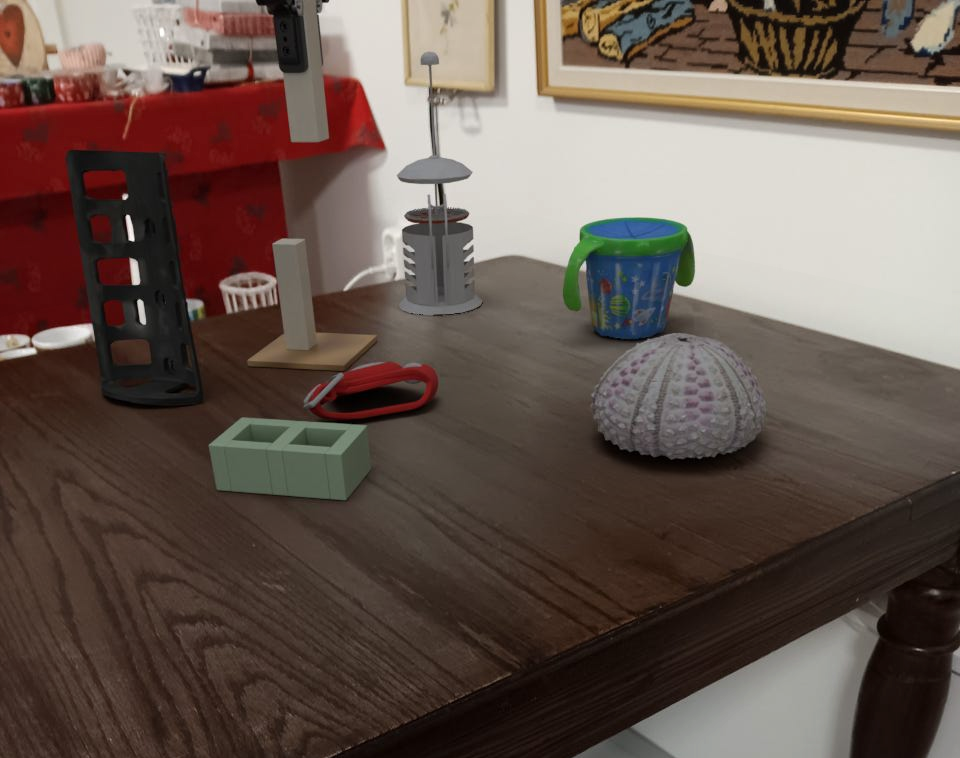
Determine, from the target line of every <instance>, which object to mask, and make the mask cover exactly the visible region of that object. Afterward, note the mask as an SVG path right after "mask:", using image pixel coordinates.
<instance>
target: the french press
mask: <svg viewBox="0 0 960 758" xmlns="http://www.w3.org/2000/svg"><path fill="white" fill-rule="evenodd" d="M420 65H421V66H428V74H429V76H428V77H429V95H430V96H429V97H430V98H429V99H430V115H431V117H430V118H431V119H430V120H431V139H432V155H430V156H428V157H426V158H420V159H417V160H415V161H413V162H411V163H409V164H407V165H405V166H404V167H403V169H401V170H400V171H399V173H397V174H396V177H397V179H398V180H399V181H400V182H402V183H405V184H416V185H434V200H435V205H433V204H432V203H431V194H426V196H427V204H428V205H427V207H421V208H417V209H416V208H414V209H412V210H409V211H407V212H406V213H405V214H404V215H403V216H404V219H405V220H406V221H408V222H410V223H413V224H409V225H406V226H405V227H403V228H402V229H401V236H402V237H401V239H402V242H403V244H404V245H405V246H409V247H410V248H411V249H412V250H413V251H410V250H408V248H406V247H402V253H403V256H405V257H406V258H407V259H410V260H411V261H412V262H413V263H412V262H409V261H408V260H406V259H403V266H404V268H405V269H406V270H408V271H411V273H413V274H410V273H409V272H408V271H404V278H405V279H406V281H408V282H410V283H412V284H413V285H409V284H408V283H407V282H405V283H404V286H405V287H404V288H405V296H404V298H403V299H402V300H401V301H400V303H399V304H398V307H399V309H400V310H401V311H403V312H406V313H409V314H411V313H413V314H412V315H419V314H421V315H420V316H433V314H454V313H460V312H465V311H468V310H471V309H474V308H476V307H478V306H479V305H480V304H481V302H482V301H483V299H481V298H480V297H479V296H478V295H477V294H476V289H475V288H476V284H475V279H473V280H472V281H471V282H470V283H469V281H470V279H472V278H473V277H474V276H475V268H472V269H471V270H470V272H467V271H468V269H469V268H471V267H472V266H473V265H474V264H475V257H474V256H472V257H471V258H470V259H469V260H467V261H466V259H468V257H469V256H471V255H472V254H473V253H474V252H475V249H474V248H475V247H474V244H471V245H470V247H468V248H467V249H464V248H465V247H466V246H467V245H468V244H470V243H471V242H472V241H473V240H474V226H472V225H471V224H468V223H465V222H462V221H464V220H466V219H468V218H469V216H470V212H469V210H467V209H466V208H460V207H454V206H453V207H452V206H450V207H449V206H447V205H448V204H447V194H446V193H443V194H442V195H443V196H442V197H443V198H442V199H443V202H442V204H440V205H438V204H439V203H438V185H439V184H441V185H442V184H451V183H457V182H462V181H464V180H468V179H469V178H470V177H471V176H472V174H473V173H474V172H473V171H472V170H471V169H470V168H468V167H467V166H466V165H465V164H464V163H462V162H460V161H457V160H455V159H452V158H447V157H443V156H442V157H441V156H440V155H437V154H436V140H435V137H436V136H435V117H434V116H435V115H434V94H433V76H432V75H433V74H432V71H433V70H432V66H435V65H440V58H439V55H438V54H437V53H436V52H434V51H425V52H424V53H422V55H421V56H420ZM465 313H466V312H465ZM422 314H423V315H422ZM454 315H455V314H454Z"/></svg>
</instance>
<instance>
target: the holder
mask: <svg viewBox="0 0 960 758" xmlns="http://www.w3.org/2000/svg"><path fill="white" fill-rule="evenodd" d="M166 156H167V152H155V151H153V152H152V151H151V152H150V151H149V152H148V151H121V150H86V149H85V150H84V149H70V150H68V151H66V153H65V163H66V165H65V166H66V170H67V176H68V183H69V188H70V196H71V203H72V209H73V214H74V221H75V227H76V234H77V240H78V246H79V252H80V258H81V264H82V271H83V275H84V276H83V277H84V282H85V288H86V294H87V300H88V306H89V313H90V318H91V325H92V331H93V336H94V337H93V338H94V343H95V350H96V355H97V361H98V366H99V373H100V384H101V393H102V395H103V396H106V397H107V398H111V399H115V400H118V401H125V402H129V403H132V404H140V405H150V406H165V407H167V406H168V407H171V406H172V407H173V406H191V405H197V404H200V403H203V402H204V399H205V395H204V388H203V382H202V377H201V371H200V366H199V361H198V355H197V351H196V346H195V339H194V334H193V330H192V325H191V319H190V314H189V302H188V300H187V292H186V290H185V285H184V278H183V272H182V259H181V258H180V254H181V250H180V245H179V238H178V231H177V225H176V215H175V214H174V212H173V208H174V203H173V202H172V199H171V192H170V184H169V178H168V177H169V173H170V171H169V169H168V168H167V164H166V159H165V158H166ZM100 171H102V172H103V171H104V172H107V171H108V172H109V171H110V172H118V171H121V172H122V173H124V175H125V183H126V189H127V197H126V198H125V199H100V198H99V199H98V198H97V199H96V198H92V197H89V196H88V195H87V190H86V189H87V188H86V183H85V178H84V174H85V173H89V172H100ZM96 216H101V217H102V216H103V217H107V218H108V220H109V225H110V233H111V240H110V241H109V242H101V241H98V240H95V239H94V235H93V228H92V220H91V219H93V218H95V217H96ZM127 216H129V219H130V223H131V225H132V232H133V238H134V240H129V238H130V237H129V233H128V226H127V220H126V218H127ZM106 259H107V260H108V259H112V260H113V259H115V260H117V259H132V260H135V261H136V263H137V267H138V268H137V269H138V275H139V283H138V284H104V283H103V282H102V281H101V280H100V273H99V267H98V266H99V265H98V262H99V261H102V260H106ZM139 300H140V301H142V303H143V310H144V315H145V324H143V323H142V322H141V317H140V311H139V303H138V301H139ZM110 301H118V302H120V303H121V307H122V313H123V319H124V322H123V323H122V324H121V325H112V324H109V323H107V316H106V310H105V305H104V304H106V303H108V302H110ZM130 340H131V341H132V340H146V342H147V343H148V345H149V354H150V361H151V362H150V363H133V364H117V363H115V362H114V358H113V353H112V348H111V344H113V343H114V342H119V341H130ZM187 346H188V348H187ZM187 349H188V350H187ZM188 352H189V356H188ZM189 357H190V362H189ZM190 363H191V365H190ZM149 380H150V381H149ZM151 380H152V381H151ZM128 381H149V382H146V383H142V384H140V385H135V386H129V387H127V386H126V387H125V386H121V385H119V384H118V383H120V382H121V383H122V382H128ZM189 385H190V386H193V387H194V388H195V392H178V393H173V392H175V391H178V390H181V389H183V388H185V387H187V386H189Z"/></svg>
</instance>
